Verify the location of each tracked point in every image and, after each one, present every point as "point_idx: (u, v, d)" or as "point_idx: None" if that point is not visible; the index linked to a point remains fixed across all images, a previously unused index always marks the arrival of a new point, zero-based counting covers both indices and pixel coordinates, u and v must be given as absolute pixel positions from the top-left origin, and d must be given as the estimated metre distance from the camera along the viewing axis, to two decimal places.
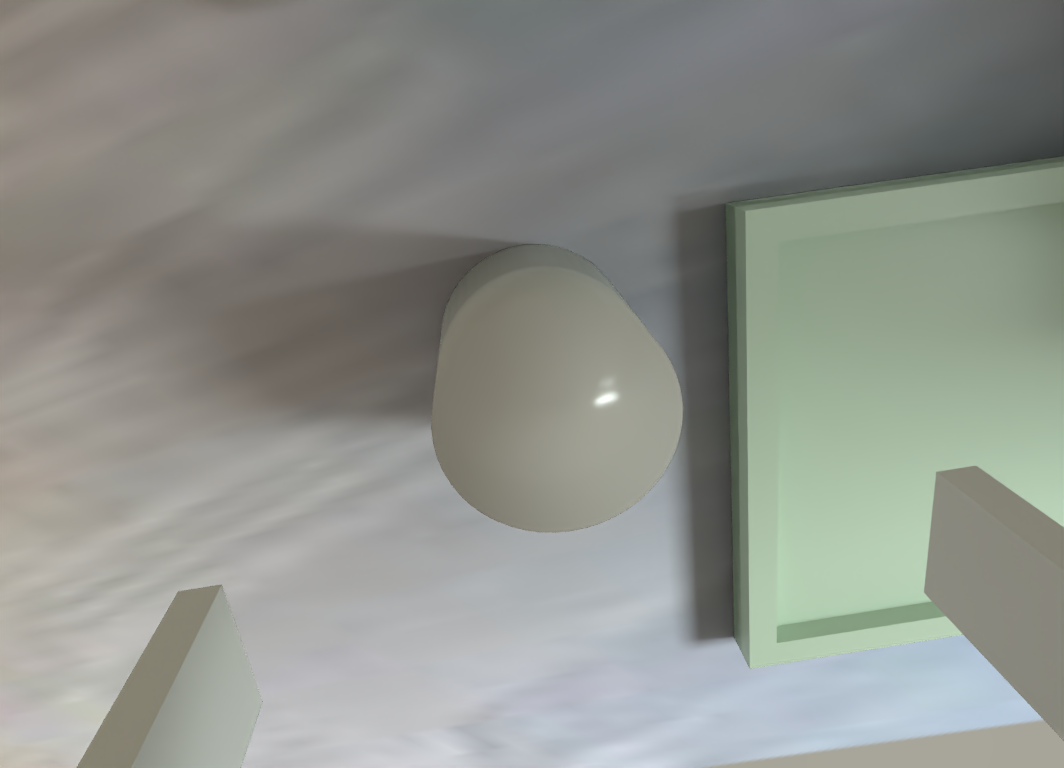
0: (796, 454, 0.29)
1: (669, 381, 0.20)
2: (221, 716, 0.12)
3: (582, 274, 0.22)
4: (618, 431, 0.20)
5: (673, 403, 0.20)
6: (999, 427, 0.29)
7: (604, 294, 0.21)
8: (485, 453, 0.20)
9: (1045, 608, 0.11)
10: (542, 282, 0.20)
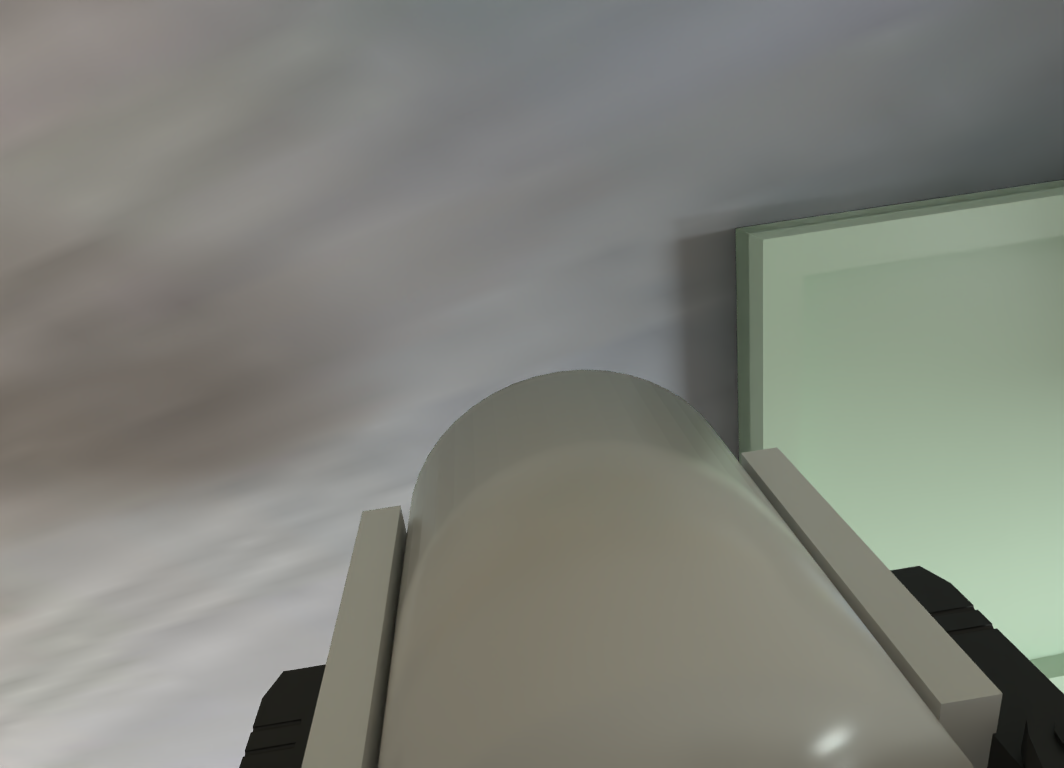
0: None
1: None
2: None
3: (703, 478, 0.10)
4: None
5: None
6: (1045, 479, 0.25)
7: (782, 566, 0.09)
8: None
9: None
10: (634, 541, 0.08)
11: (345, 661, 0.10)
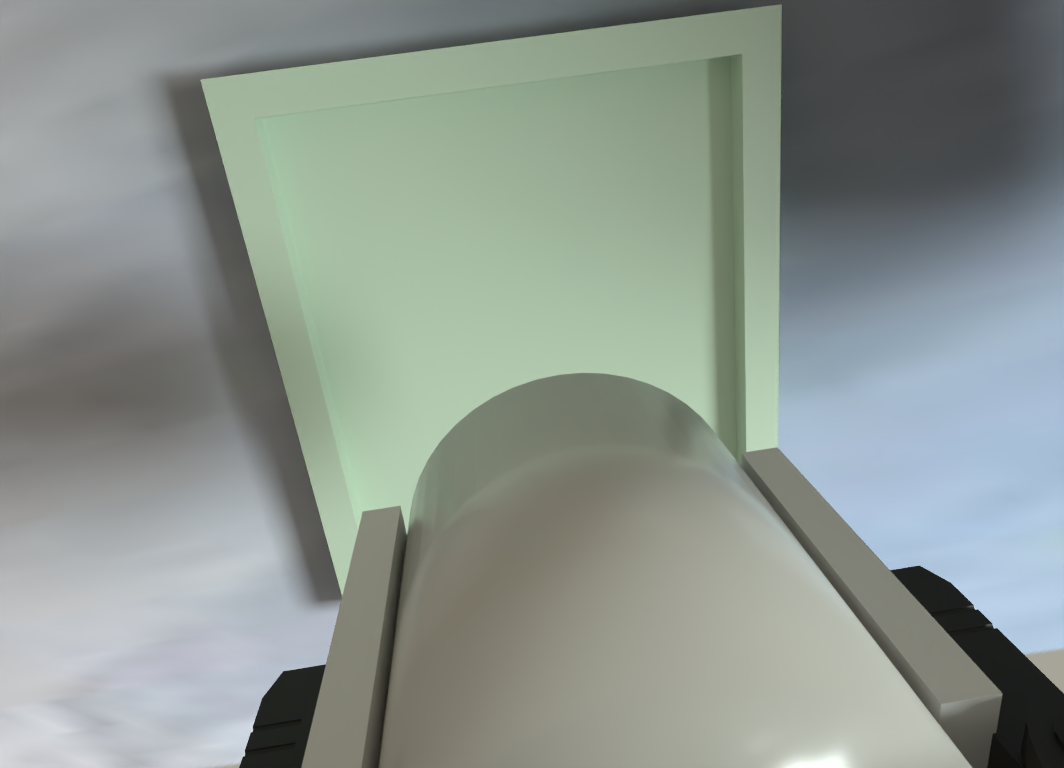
0: (362, 383, 0.25)
1: None
2: None
3: (705, 483, 0.10)
4: None
5: None
6: (600, 352, 0.26)
7: (784, 573, 0.09)
8: None
9: None
10: (636, 548, 0.08)
11: (345, 661, 0.10)
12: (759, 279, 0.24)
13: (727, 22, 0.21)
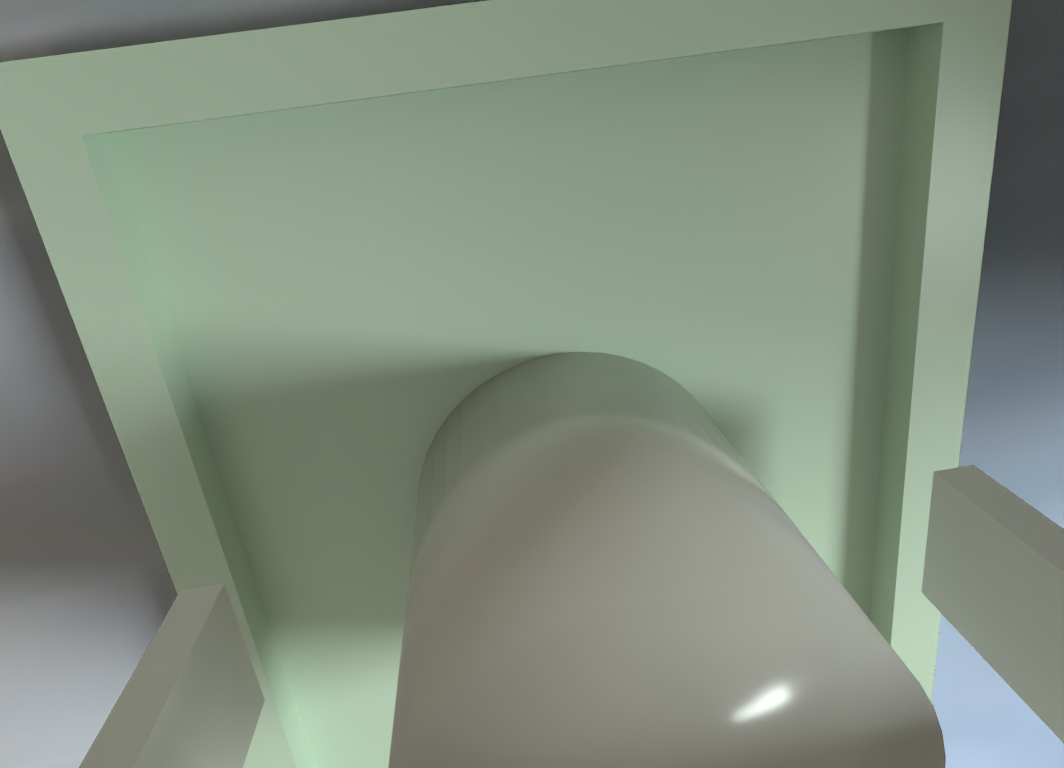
0: (299, 547, 0.16)
1: (923, 741, 0.09)
2: (224, 714, 0.12)
3: (689, 445, 0.11)
4: None
5: None
6: None
7: (757, 518, 0.10)
8: None
9: (1043, 608, 0.11)
10: (625, 495, 0.10)
11: None
12: (935, 391, 0.15)
13: None
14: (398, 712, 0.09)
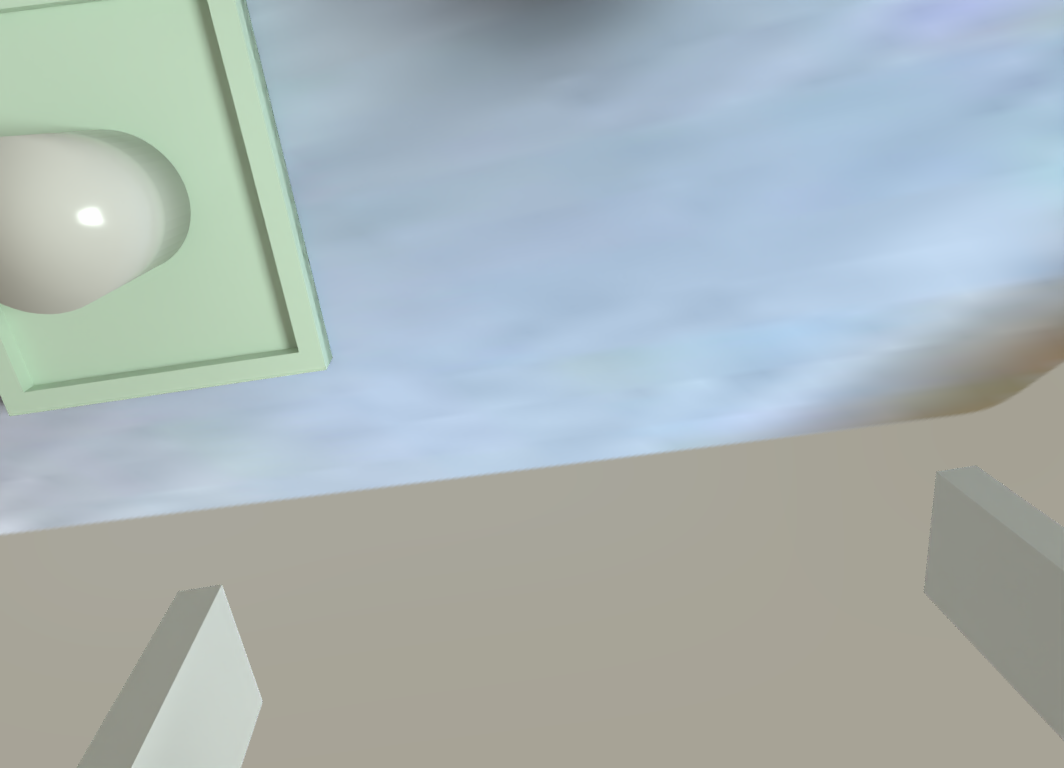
0: None
1: (101, 198, 0.28)
2: (221, 716, 0.12)
3: (87, 137, 0.31)
4: (74, 235, 0.29)
5: (109, 215, 0.29)
6: None
7: (74, 143, 0.29)
8: None
9: (1045, 608, 0.11)
10: None
11: None
12: (256, 146, 0.35)
13: None
14: None
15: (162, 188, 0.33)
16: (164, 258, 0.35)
